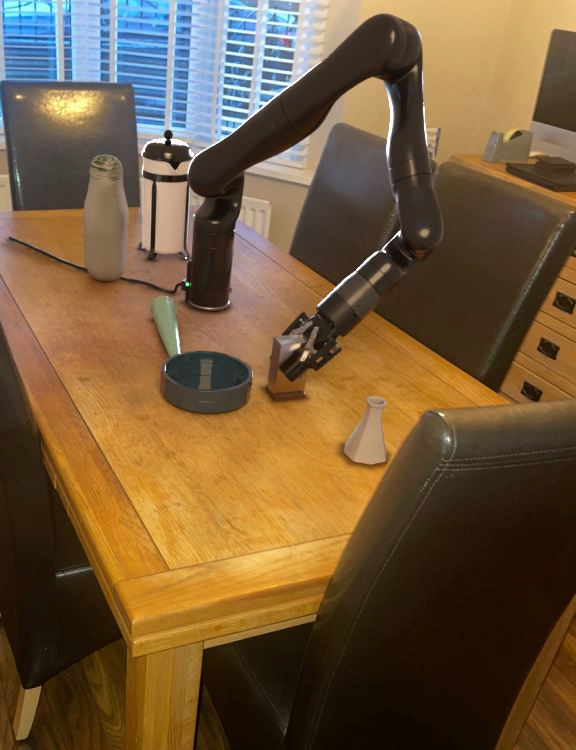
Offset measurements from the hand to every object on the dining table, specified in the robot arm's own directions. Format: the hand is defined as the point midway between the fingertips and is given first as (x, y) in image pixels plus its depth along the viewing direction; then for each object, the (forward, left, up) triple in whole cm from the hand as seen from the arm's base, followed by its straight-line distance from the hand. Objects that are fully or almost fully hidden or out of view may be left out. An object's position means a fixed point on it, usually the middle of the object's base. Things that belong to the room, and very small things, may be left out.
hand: (280, 370), depth 143 cm
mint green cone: (-28, +3, -5) cm, 28 cm away
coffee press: (-67, +48, -5) cm, 82 cm away
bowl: (-10, -10, -5) cm, 14 cm away
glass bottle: (-63, +22, -5) cm, 66 cm away
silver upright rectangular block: (+1, +1, -5) cm, 5 cm away
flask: (+22, -8, -5) cm, 24 cm away
